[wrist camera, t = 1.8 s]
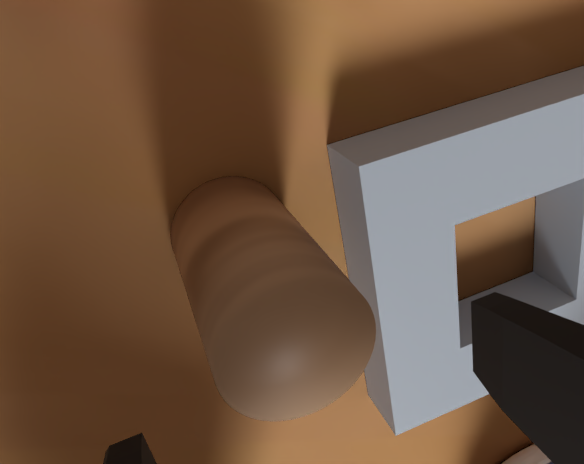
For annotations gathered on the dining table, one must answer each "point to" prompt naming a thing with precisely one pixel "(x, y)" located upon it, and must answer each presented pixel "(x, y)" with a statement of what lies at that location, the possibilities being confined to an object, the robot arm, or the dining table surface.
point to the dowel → (268, 302)
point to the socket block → (441, 231)
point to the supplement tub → (529, 457)
